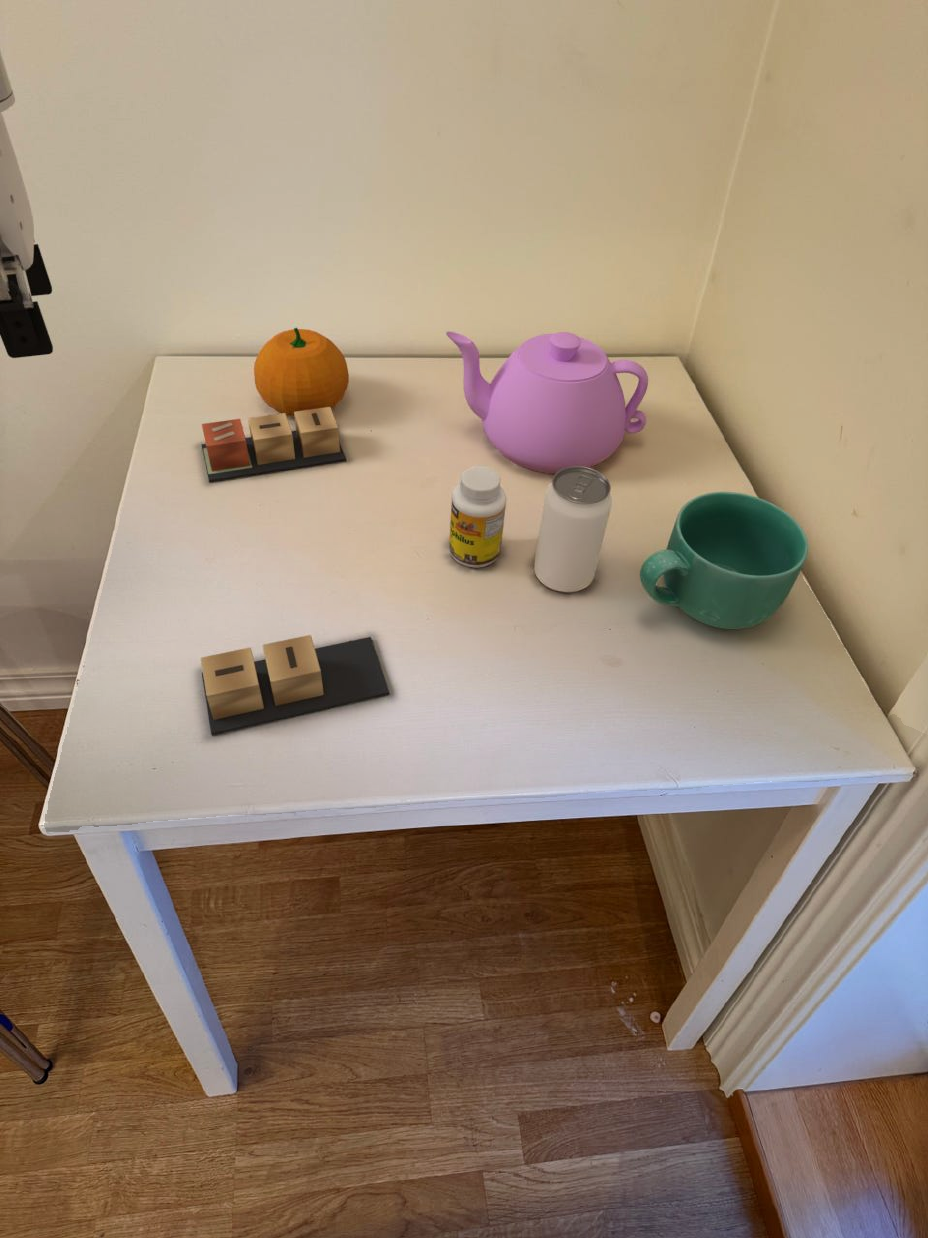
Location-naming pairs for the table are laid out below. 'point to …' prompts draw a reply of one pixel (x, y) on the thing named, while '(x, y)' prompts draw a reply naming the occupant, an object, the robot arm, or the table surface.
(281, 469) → the back mat
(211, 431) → the striped orange cube
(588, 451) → the teapot
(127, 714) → the table surface
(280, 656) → the wooden cube
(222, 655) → the wooden cube
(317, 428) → the pair of dash-marked blocks
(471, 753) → the table surface
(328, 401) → the fruit
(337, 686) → the front mat
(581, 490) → the can
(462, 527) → the supplement bottle
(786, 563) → the mug
